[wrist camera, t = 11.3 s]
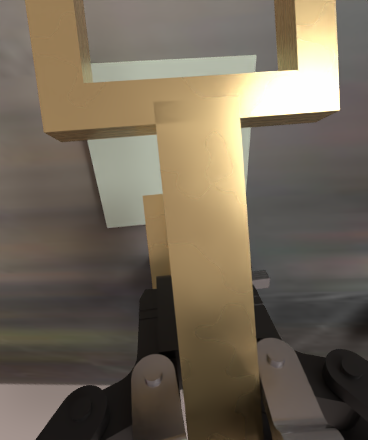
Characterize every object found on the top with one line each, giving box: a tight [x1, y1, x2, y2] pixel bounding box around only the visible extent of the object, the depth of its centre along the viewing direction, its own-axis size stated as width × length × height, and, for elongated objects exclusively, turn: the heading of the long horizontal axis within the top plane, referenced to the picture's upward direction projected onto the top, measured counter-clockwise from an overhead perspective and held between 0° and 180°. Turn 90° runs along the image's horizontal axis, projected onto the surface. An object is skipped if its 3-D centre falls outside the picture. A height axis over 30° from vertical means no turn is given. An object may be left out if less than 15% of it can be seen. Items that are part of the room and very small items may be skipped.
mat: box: [87, 55, 256, 228], centre depth 20 cm, size 12×12×1 cm
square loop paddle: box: [25, 0, 340, 440], centre depth 10 cm, size 16×7×8 cm, turn 3°
